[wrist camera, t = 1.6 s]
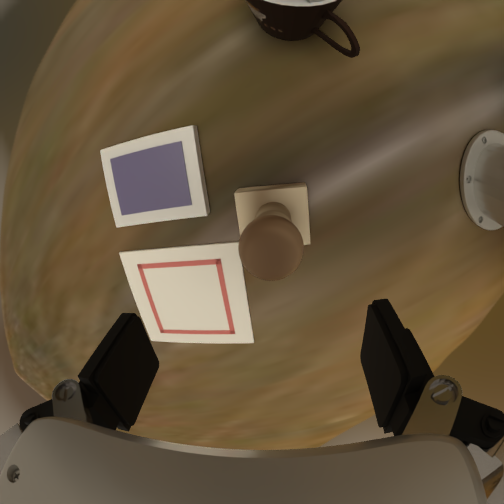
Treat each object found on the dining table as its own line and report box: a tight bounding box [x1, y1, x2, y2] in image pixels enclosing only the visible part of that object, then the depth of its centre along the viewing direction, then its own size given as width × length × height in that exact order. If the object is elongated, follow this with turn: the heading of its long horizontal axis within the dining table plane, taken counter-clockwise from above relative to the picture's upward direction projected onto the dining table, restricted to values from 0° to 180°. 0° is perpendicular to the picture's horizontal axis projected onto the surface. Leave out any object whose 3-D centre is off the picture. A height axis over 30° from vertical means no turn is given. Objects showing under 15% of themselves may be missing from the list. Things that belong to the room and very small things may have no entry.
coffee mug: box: [245, 0, 360, 58], centre depth 14 cm, size 12×9×10 cm
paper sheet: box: [119, 241, 254, 343], centre depth 32 cm, size 15×14×1 cm
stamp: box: [234, 182, 310, 281], centre depth 22 cm, size 6×5×12 cm
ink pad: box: [100, 125, 210, 227], centre depth 26 cm, size 11×9×2 cm
